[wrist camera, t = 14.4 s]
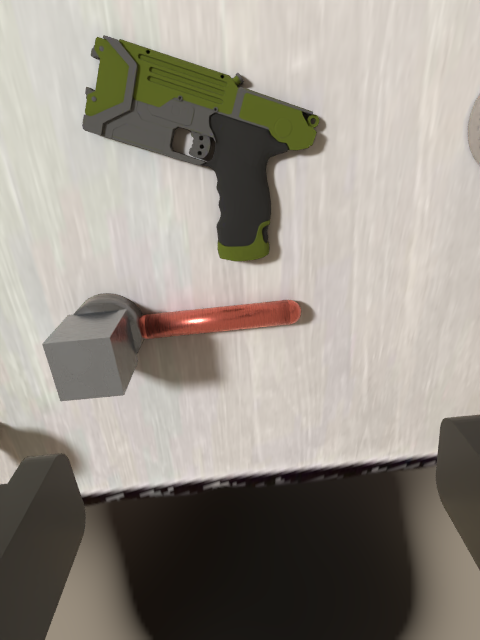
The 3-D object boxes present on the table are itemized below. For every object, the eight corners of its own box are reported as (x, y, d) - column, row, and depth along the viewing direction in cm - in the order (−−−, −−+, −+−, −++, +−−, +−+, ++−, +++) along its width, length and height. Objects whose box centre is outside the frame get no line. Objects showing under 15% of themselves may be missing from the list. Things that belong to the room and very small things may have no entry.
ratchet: (297, 273, 42) (310, 300, 35) (300, 337, 45) (313, 374, 38) (68, 297, 43) (37, 328, 36) (85, 359, 46) (59, 399, 39)
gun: (74, 211, 40) (101, 29, 35) (268, 267, 42) (322, 103, 37) (64, 215, 38) (92, 21, 33) (270, 274, 40) (328, 100, 35)
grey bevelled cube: (126, 309, 40) (109, 337, 35) (138, 361, 42) (124, 395, 37) (68, 315, 40) (42, 344, 35) (82, 366, 42) (60, 401, 37)
